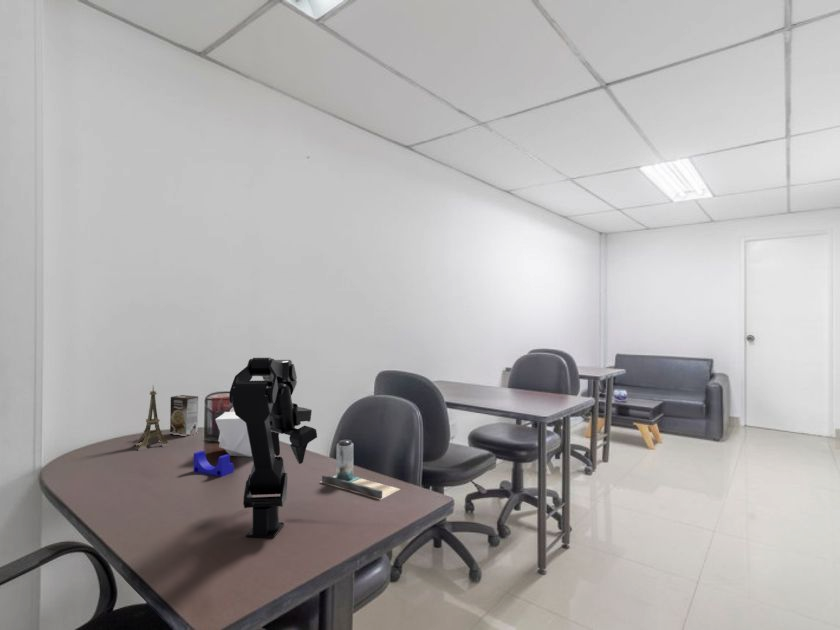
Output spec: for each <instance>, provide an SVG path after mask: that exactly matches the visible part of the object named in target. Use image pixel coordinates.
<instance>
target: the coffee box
mask: <svg viewBox="0 0 840 630" xmlns="http://www.w3.org/2000/svg"><path fill="white" fill-rule="evenodd" d="M169 411H170V412H169V413H170V415H169V416H170V418H169V419H170V421H169V424H170V425H169V433H170V432H172V433H179V434H190V433H194V432H197V431H199V429H198V425H199V420H198V419H199V396H197V395H185V394H182V395H175V396H173V395H172V396H171V397H170V410H169ZM197 433H198V432H197Z"/></svg>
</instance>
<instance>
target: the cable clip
mask: <svg viewBox="0 0 840 630" xmlns="http://www.w3.org/2000/svg"><path fill="white" fill-rule="evenodd" d="M198 472H199V473H198ZM193 473H198V474H205V475H211V476H216V477H225V476H227V475H230V474H233V473H234V462H231V456H230V455H229V454H228V453H226V454H224V455H221V456H218V460H217V464H216V466H214V465H212V464H210V462H209V461H208V459H207V457H206V451H204V450H199V451H196V452H193Z"/></svg>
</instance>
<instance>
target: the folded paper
mask: <svg viewBox="0 0 840 630" xmlns="http://www.w3.org/2000/svg"><path fill="white" fill-rule="evenodd" d="M215 423H216V425H217V428H218V431H219V436H218V440H217V441H218V442H219V445H218V448H220V449H224V451H225V452H226V454H227V455H230V457H231V456H233V457H245V458H252V453H251V448H250V443H249V437H248V432H247V427H246V422H244V421H243V420H242V419H240V418H239V417H238V416H236V415H235V412H234V409H233V406H232V407H231V408H230V410H229V411H224V412H223V413H222V414H221V415H219V416H218V417H217V418H215Z"/></svg>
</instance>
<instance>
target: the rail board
mask: <svg viewBox="0 0 840 630" xmlns="http://www.w3.org/2000/svg"><path fill="white" fill-rule="evenodd" d="M320 483H322V484H325V485H329V486H332V487H335V488H339V489H343V490H346V491H349V492H353V493H356V494H360V495H363V496H366V497H369V498H370V497H371V498H373V499H377V500H380V501H381V500H383V499H385V498H387V497H389V496H390V495H391V496H392V494H395V493H397V492H399V491H401V488H398V487H395V486H390V485H387V484H382V483H379V482H375V481H372V480H368V479H365V478H362V477H360V476H354V475H353V479H352V480H350V481H345V480H341V479H338V478H336V475H334V476H333V475H332V476H329V475H327V474H322V476H321V481H320Z"/></svg>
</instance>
